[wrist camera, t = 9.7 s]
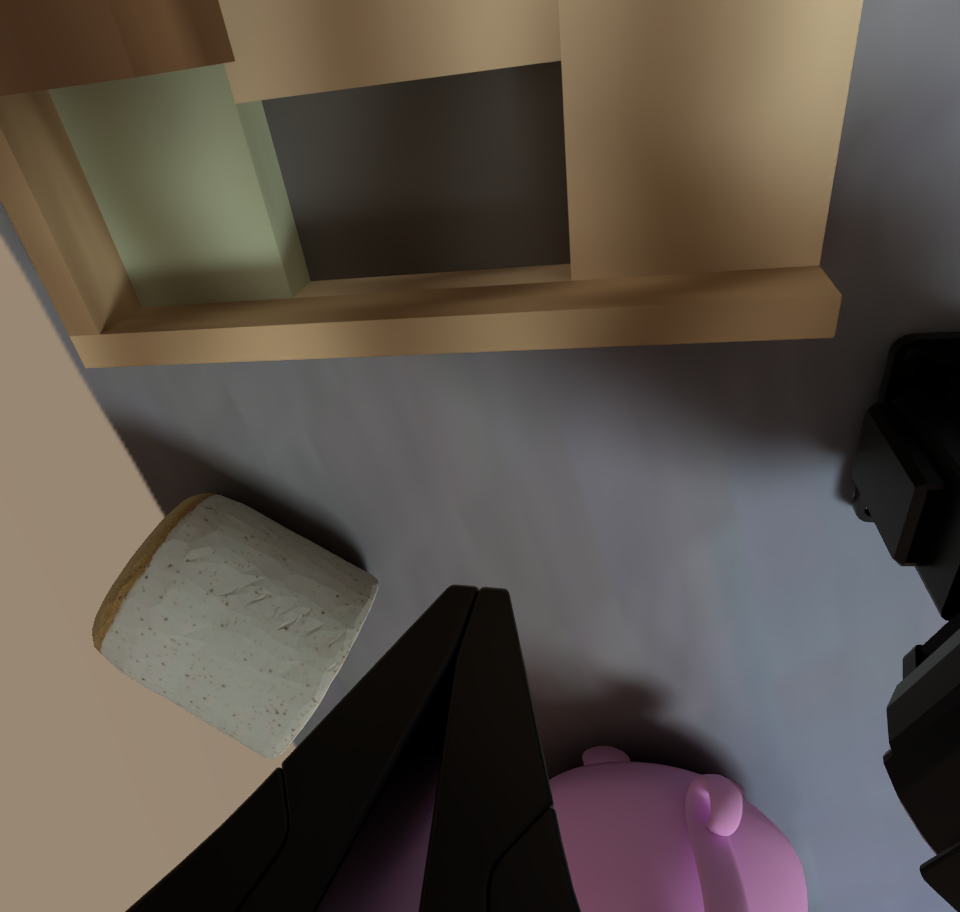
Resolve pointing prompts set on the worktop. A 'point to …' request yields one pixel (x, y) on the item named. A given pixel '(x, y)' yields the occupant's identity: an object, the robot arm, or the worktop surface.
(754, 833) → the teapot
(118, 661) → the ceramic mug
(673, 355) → the worktop surface
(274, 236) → the track
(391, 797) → the robot arm
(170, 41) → the walnut block
